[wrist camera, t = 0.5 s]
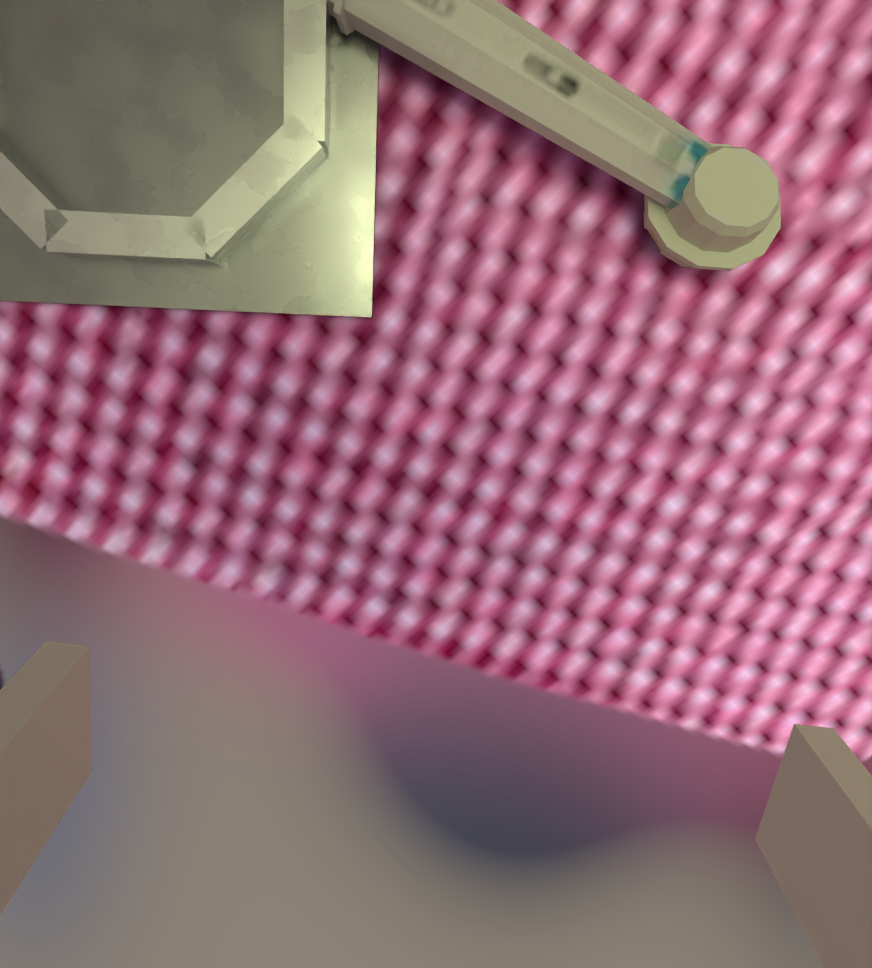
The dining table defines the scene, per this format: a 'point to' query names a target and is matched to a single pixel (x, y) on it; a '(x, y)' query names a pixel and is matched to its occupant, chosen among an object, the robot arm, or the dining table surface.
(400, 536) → the dining table surface
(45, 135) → the collar
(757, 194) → the beige knobbed rod
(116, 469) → the dining table surface
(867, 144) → the dining table surface
